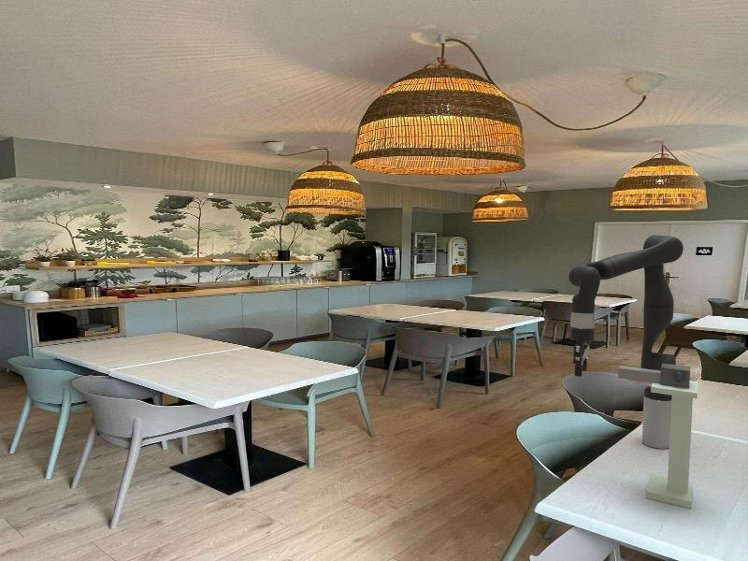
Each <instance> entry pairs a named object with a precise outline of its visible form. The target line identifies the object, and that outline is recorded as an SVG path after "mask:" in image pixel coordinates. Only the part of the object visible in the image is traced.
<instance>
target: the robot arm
mask: <svg viewBox="0 0 748 561" xmlns="http://www.w3.org/2000/svg"><path fill="white" fill-rule="evenodd" d="M683 253H684V245H683V242H682V240H681V239H679V238H678V237H676V236H672V235H661V234H651V235H650V236H648V237H647V238H646V239H645V241H644V243H643V247H642V249H639V250H636V251H635V250H634V251H630V252H629V251H627V252H622V253H618V254H613V255H611V256H608V257H606V258H602V259H600V260H597V261H592V262H587V263H583V264H579V265H577V266H575V267H573V268H572V269H571V270H570V272H569V274H568V280H569V282H570V283H571V284H572V285H573V286H575V287H579V291H578V294H574V295H573V297H572V300H571V315H570V325H569V326H570V328H569V330H570V331H569V339H571V340H572V341H576V343H575V345H574V346H573V355H572V356H573V360H572V363H573V365H574V376H575V377H583V372H587V370H588V360H589V357H590V342H593V341H594V340H595V330H596V328H595V327H596V318H595V311H596V310H595V308H596V307H595V306H596V304H595V302H596V298H597V296H598V292H599V289H600V284H601V281H607V280H611V279H613V278H616V277H620V276H622V275H625V274H628V273H631V272H634V271H637V270H640V269H643V272H644V273H643V274H644V276H643V277H644V289H643V290H644V296H643V336H642V338H643V339H642V347H641V356H640V357H641V358H640V368H642V369H650V370H659V371H661V366H662V363H664V364H673V365H677V360H676V356H674V354H670V353H664V352H663V353H661V352H654V351H653V347H654V345H655V344H656V342H657V340H658V339H659V337H660V336H661V334H663V332H664V331H665V330H666V329H667V328H668V326H669V325H670V324H671V323H672V322H673V319H674V310H675V308H674V307H675V306H674V303H675V302H674V300H675V299H674V296H673V293H672V291H671V289H670V287H669V285H668V282H667V280H666V276H665V273H664V272H665V270H664V265H665V264H670V263H671V264H672V263H674V262H677V261H678V260H679V259H680V258H681V256H683ZM651 386H652V385H649V386H646V387H645V388H644V390H643V407H642V408H643V409H642V410H643V411H642V428H641V429H642V431H641V433H642V434H641V443H642V444H643V443H644V444H643V445H645V446H647V447H650V448H653V449H659V450H662V449H663V450H664V449H665V450H666V449H669V444H670V425H671V405H672V395H667V394H660V393H653V392H651Z"/></svg>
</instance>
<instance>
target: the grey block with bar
mask: <svg viewBox="0 0 748 561" xmlns="http://www.w3.org/2000/svg"><path fill="white" fill-rule="evenodd" d="M617 372H618V374H617V378H618V379H621V380H622V379H623V380H631V381H638V382H646V383H651V384H652V383H659V384H660V385H666V386H673V387H681V388H688V389H689V384H690V381H691V366H689V365H680V364H676V365H673V364H664V363H662V366H661V371H659V370H650V369H642V368H641V367H633V366H626V365H624V366H623V365H620V366H618V371H617Z"/></svg>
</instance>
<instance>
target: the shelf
mask: <svg viewBox="0 0 748 561" xmlns="http://www.w3.org/2000/svg"><path fill="white" fill-rule="evenodd" d="M650 386H651V392H653V393H660V394H667V395H672V405H671V425H670V444H669V448H668V450H669V451H668V467H667V469H668V470H667V475H663V474H660V473H654V472H650V473H649V477H648V480H647V485H646V489H645V498H646V499H650V500H653V501H657V502H663V503H666V504H670V505H675V506H678V507H679V506H680V507H683V508H686V509H692V503H693V502H692V497H693V481H692V480H690V479H689V476H690V462H691V460H690V459H691V440H692V422H693V419H692V418H693V404H694V403H693V402H694V399H695V400H696V399H698V394H699V393H698V392H699V391H698V389H699V388H698V386H699V381H695V380H690V384H689V389H688V388H681V387H673V386H666V385H660V384H659V383H651V385H650Z"/></svg>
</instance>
